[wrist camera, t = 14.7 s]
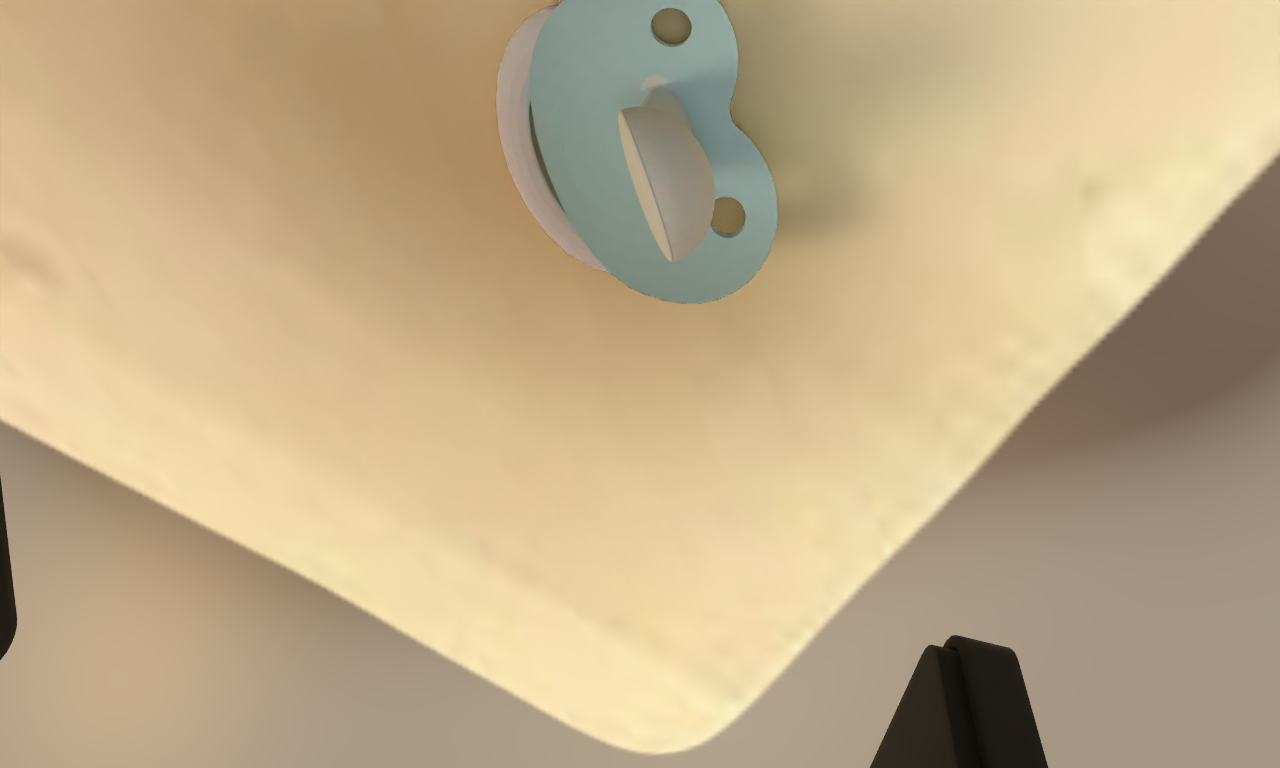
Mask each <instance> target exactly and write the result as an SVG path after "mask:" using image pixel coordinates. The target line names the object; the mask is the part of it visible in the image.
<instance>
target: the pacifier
mask: <svg viewBox="0 0 1280 768" xmlns="http://www.w3.org/2000/svg"><path fill="white" fill-rule="evenodd" d="M665 8H675V9H679V10H681V11H683V12H684V13H685V14H686V15H687V16H688V18H689V20H690V21H691V26H692V30H691V34H690V36H689V37H688V38H687V39H686V40H685V41H683V42H681V43H679V44H668V43H665V42H663V41H661V40H660V39H659V38H658V37H657V36H656V35H655V33H654V31H653V28H652V19H653V17H654V15H655V14H656V13H657V12H658V11H660V10H662V9H665ZM737 74H738V48H737V43H736V38H735V33H734V30H733V27H732V25H731V23H730V20H729V18H728V16H727V14H726V12H725V10H724V8H723V7H722V5H721V4H720V2H719V1H718V0H562V1H561V3H560V4H559V5H558V6H551V7H546V8H544V9H542V10H541V11H539V12H537V13H536V14H534V15H532V16H530V17H529V18H527V19H525V20H524V22H523V23H522V24H521V26H520V27H519V28H518V29H517V31H516V32H515V33H514V35H513V36H512V37H511V39H510V40H509V41H508V44H507V47H506V50H505V53H504V56H503V59H502V61H501V64H500V67H499V71H498V82H497V93H496V111H497V120H498V129H499V138H500V141H501V145H502V148H503V152H504V155H505V158H506V162H507V165H508V169H509V172H510V174H511V176H512V178H513V181H514V183H515V185H516V187H517V189H518V191H519V193H520V195H521V197H522V199H523V201H524V203H525V205H526V207H527V208H528V209H529V211H530V212H531V214H532V215H533V216H534V218H535V219H536V221H537V222H538V223H539V225H540V226H541V228H542V229H543V230H544V232H545V233H546V234H547V235H548V236H549V237H551V238H552V239H553V240H554V241H555V242H556V243H557V244H558V245H559V246H560V247H561V248H562V249H563V250H564V251H565V252H566V253H568V254H569V255H571V256H573V257H574V258H576V259H578V260H579V261H581V262H583V263H584V264H586V265H588V266H589V267H591V268H595V269H598V270H602V271H606V272H609V273H611V275H613V276H614V277H616V278H617V279H619V280H620V281H622V282H623V283H624V284H625V285H627V286H628V287H630V288H632V289H634V290H636V291H639V292H641V293H643V294H645V295H648V296H653V297H655V298H658V299H661V300H663V301H669V302H675V303H681V304H701V303H705V302H709V301H714V300H718V299H721V298H723V297H725V296H727V295H730V294H732V293H734V292H735V291H737V290H738V289H739V288H741V287H742V286H743V285H745V284H746V283H748V282H749V281H750V280H751V279H752V277H753V276H754V275H755V274H756V273H757V272H758V271H759V270H760V268H761V267H762V265H763V263H764V262H765V260H766V258H767V257H768V255H769V253H770V250H771V247H772V244H773V241H774V238H775V234H776V230H777V225H778V204H777V195H776V189H775V185H774V182H773V179H772V176H771V173H770V170H769V168H768V166H767V164H766V162H765V160H764V158H763V157H762V155H761V153H760V151H759V150H758V149H757V148H756V146H755V145H754V144H753V142H752V141H751V140H750V138H749V137H748V136H747V135H746V134H745V133H744V132H742V131H741V130H740V129H739V128H738V127H737V126H736V125H735V124H734V123H733V121H732V118H731V115H730V108H729V107H730V101H731V100H732V97H733V94H734V91H735V86H736V80H737ZM721 197H730V198H734V199H735V200H737V201H738V202H739V203H740V204H741V205H742V207H743V209H744V211H745V216H746V218H745V222H744V224H743V226H742V227H741V228H740V229H739V230H738V231H736V232H733V233H724V232H721V231H719V230H718V229H716V228H715V227H714V225H713V224H712V223H711V220H712V217H713V213H714V206H715V200H717V199H719V198H721Z"/></svg>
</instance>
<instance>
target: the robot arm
mask: <svg viewBox="0 0 1280 768" xmlns="http://www.w3.org/2000/svg"><path fill="white" fill-rule="evenodd" d="M16 627H17V614H16V606H15V597H14V589H13V580H12V572H11V564H10V556H9V547H8V538H7V529H6V521H5V512H4V504H3V496H2V487H1V479H0V660H1V659H2V657H3V656H4V655H5V653H6V652H7V650H8V649H9V647H10V645H11V643H12V641H13V638H14V635H15V632H16ZM870 768H1048V765H1047V762H1046V759H1045V755H1044V751H1043V748H1042V744H1041V740H1040V737H1039V734H1038V730H1037V726H1036V723H1035V719H1034V715H1033V712H1032V709H1031V705H1030V701H1029V698H1028V694H1027V690H1026V687H1025V683H1024V679H1023V676H1022V672H1021V669H1020V665H1019V662H1018V659H1017V657H1016V654H1015V652H1014V651H1013V650H1012V649H1010V648H1007V647H1003V646H999V645H994V644H991V643H986V642H982V641H978V640H974V639H970V638H966V637H962V636H957V635H954V636H951V637H950V638H949V639H948V640H947V641H946V642H945V644H944V646H943V647H939V646H935V645H929V646H928V647H927V648H926V649H925V650H924V652H923V654H922V656H921V658H920V660H919V662H918V664H917V667H916V669H915V671H914V673H913V675H912V678H911V680H910V682H909V684H908V686H907V688H906V691H905V693H904V695H903V697H902V699H901V701H900V703H899V706H898V708H897V710H896V712H895V714H894V717H893V719H892V721H891V723H890V725H889V728H888V729H887V732H886V734H885V736H884V738H883V740H882V743H881V745H880V747H879V749H878V751H877V754H876V755H875V758H874V760H873V762H872V764H871V766H870Z"/></svg>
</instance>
